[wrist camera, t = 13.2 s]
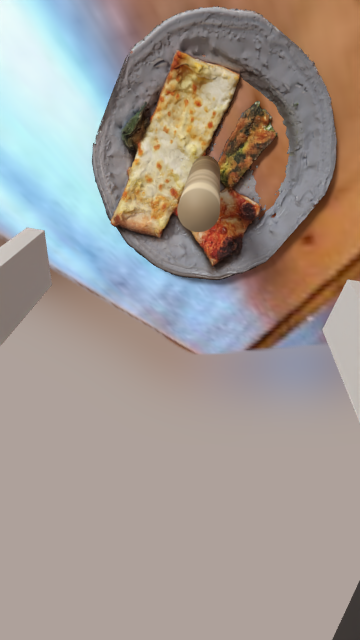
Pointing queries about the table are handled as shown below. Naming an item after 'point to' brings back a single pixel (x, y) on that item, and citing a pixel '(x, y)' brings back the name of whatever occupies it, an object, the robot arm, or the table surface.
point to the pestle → (201, 196)
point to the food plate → (196, 137)
